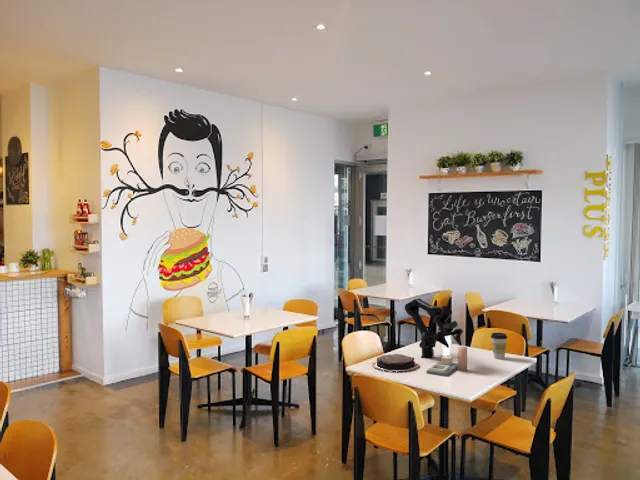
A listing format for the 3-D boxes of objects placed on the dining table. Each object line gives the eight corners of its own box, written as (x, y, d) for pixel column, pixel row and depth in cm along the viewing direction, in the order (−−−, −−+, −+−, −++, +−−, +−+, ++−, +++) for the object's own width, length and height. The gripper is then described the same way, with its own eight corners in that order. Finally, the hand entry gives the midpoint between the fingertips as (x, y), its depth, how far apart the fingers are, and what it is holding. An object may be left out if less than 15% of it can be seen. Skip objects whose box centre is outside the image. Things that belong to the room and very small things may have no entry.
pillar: (456, 369, 304) (455, 347, 303) (463, 368, 306) (462, 346, 306) (462, 372, 299) (461, 349, 299) (469, 370, 301) (469, 348, 301)
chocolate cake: (383, 358, 334) (383, 347, 334) (425, 363, 320) (425, 352, 320) (364, 369, 310) (363, 358, 310) (408, 375, 296) (408, 364, 296)
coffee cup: (504, 361, 319) (504, 336, 319) (488, 358, 325) (488, 334, 325) (509, 357, 327) (509, 333, 326) (494, 355, 333) (493, 331, 332)
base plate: (426, 373, 298) (426, 363, 298) (440, 363, 318) (440, 354, 317) (447, 376, 292) (446, 366, 292) (459, 365, 311) (459, 356, 311)
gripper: (435, 318, 308) (448, 340, 299) (460, 315, 316) (473, 336, 307) (427, 329, 316) (439, 351, 306) (452, 325, 324) (464, 347, 314)
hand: (454, 346), depth 308 cm, fingers open, 9 cm apart
